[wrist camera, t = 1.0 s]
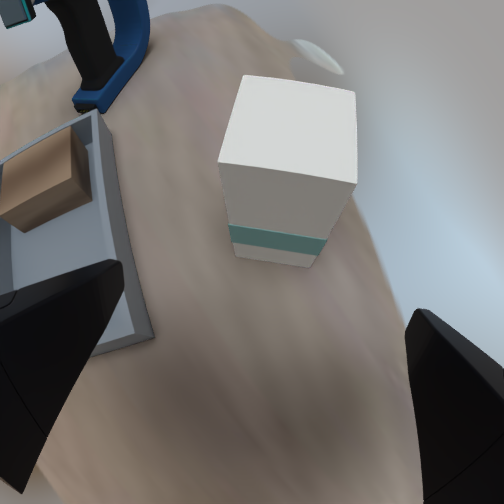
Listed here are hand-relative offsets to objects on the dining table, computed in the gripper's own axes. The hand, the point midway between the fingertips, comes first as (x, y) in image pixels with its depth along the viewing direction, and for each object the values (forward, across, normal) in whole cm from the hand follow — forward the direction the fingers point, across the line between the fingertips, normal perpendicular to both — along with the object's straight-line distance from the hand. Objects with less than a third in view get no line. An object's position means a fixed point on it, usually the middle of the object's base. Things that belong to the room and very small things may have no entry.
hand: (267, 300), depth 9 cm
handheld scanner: (+26, +21, -8) cm, 34 cm away
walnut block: (+15, +21, +3) cm, 26 cm away
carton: (+15, 0, +4) cm, 16 cm away
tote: (+12, +18, +7) cm, 23 cm away
